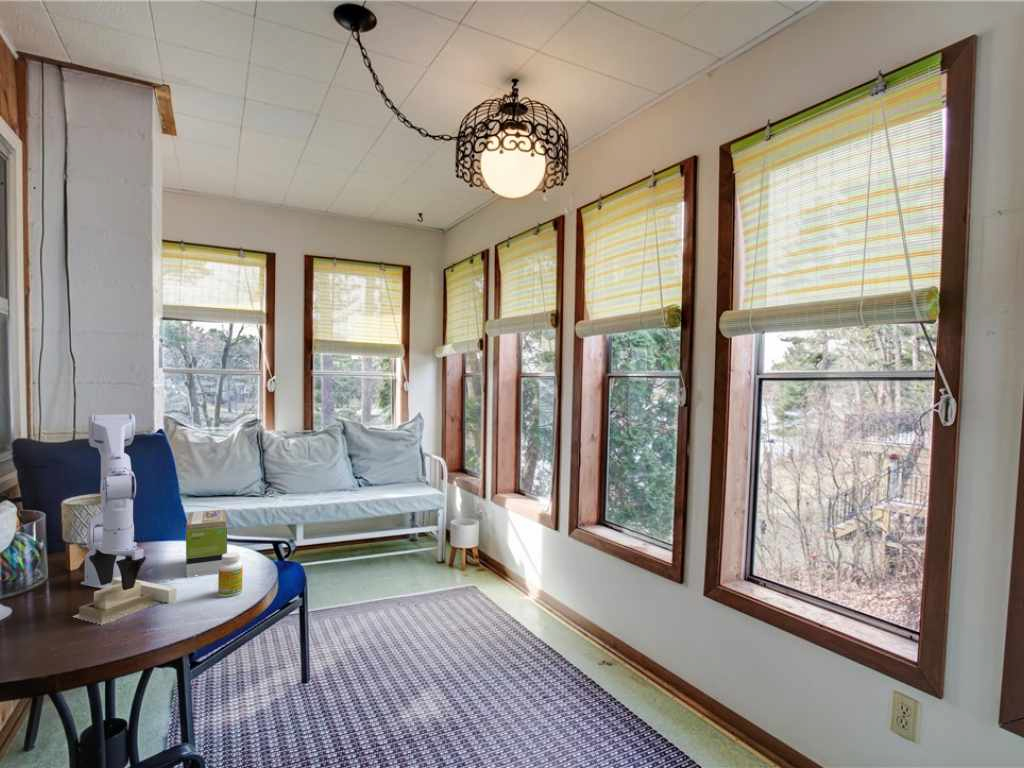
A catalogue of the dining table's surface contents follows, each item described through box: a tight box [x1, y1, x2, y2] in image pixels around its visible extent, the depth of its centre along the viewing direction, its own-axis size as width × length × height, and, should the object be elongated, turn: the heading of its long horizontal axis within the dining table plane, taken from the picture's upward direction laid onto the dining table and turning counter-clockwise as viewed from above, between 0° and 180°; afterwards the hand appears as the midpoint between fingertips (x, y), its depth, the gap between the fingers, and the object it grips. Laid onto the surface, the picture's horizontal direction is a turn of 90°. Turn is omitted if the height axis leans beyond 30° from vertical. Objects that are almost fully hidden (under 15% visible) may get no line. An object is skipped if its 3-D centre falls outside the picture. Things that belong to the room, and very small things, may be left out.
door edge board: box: [112, 576, 177, 604], centre depth 139 cm, size 20×2×3 cm, turn 69°
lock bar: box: [93, 582, 141, 610], centre depth 130 cm, size 4×8×5 cm, turn 159°
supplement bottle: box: [217, 552, 244, 598], centre depth 141 cm, size 5×5×10 cm
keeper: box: [71, 592, 160, 626], centre depth 130 cm, size 10×13×2 cm
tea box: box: [185, 508, 228, 577], centre depth 161 cm, size 15×10×15 cm, turn 27°
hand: (117, 586), depth 130 cm, fingers open, 7 cm apart
